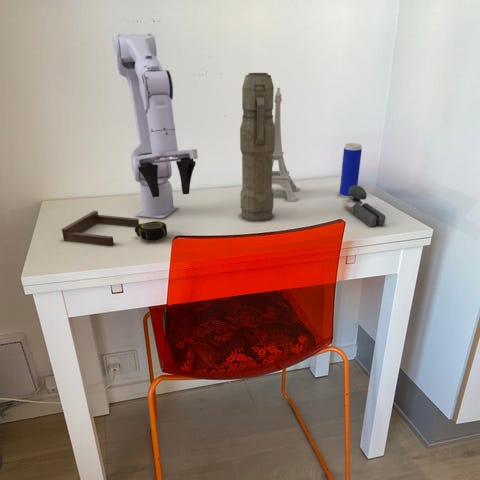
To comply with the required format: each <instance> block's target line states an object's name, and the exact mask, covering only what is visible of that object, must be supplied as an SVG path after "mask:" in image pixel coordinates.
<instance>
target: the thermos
mask: <svg viewBox="0 0 480 480" xmlns="http://www.w3.org/2000/svg"><path fill="white" fill-rule="evenodd" d="M273 82H274V81H273V79H272V75H271V74H269V73H268V72H248V74H246V75H245V76H244V80H243V84H242V87H241V97H242V98H241V100H242V103H241V104H242V105H241V106H242V119H241V125H240V127H239V140H240V141H239V145H240V146H239V147H240V148H239V150H240V152H241V155H242V156H241V159H242V160H241V172H242V173H241V175H242V178H241V183H242V184H241V185H242V188H241V190H240V197H239V198H240V210H241V213H240V217H241V218H242V220H244V221H247V222H253V223H254V222H255V223H260V222H261V223H262V222H267V221H270V220H272V219H273V209H274V198H275V197H274V191H273V185H272V171H273V167H272V158H273V152H274V149H275V126H274V122H275V121H274V115H273V110H274V97H275V95H274V93H275V92H274V91H275V87H274V83H273Z"/></svg>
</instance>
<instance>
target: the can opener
mask: <svg viewBox="0 0 480 480" xmlns="http://www.w3.org/2000/svg"><path fill="white" fill-rule="evenodd" d="M367 194H368V193H367V191H366V189H364V188H363V187H362V186H361V185H358V186H351V187H350V188H349V195H352V198H350V197H348V198H345V197H343V198H342V199H341V202H342V203H343V204H344V205H346V206H347V207H348V208H350V210H351V209H352V214H353V215H354V216H356V217H357V218H358V219H360V220H361V221H362V222H363V223H365V224H366V225H367V226H369V227H371V228H372V227H375V226H379V227H381V226H384V225H385V224H386V215H385V214H384V213H383V212H381V211H379V210H378V209H376V208H375V207H374V206H372V205H370V204H369V203H367V202H363V201H364V200H367ZM361 200H363V201H361Z"/></svg>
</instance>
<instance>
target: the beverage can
mask: <svg viewBox="0 0 480 480" xmlns="http://www.w3.org/2000/svg"><path fill="white" fill-rule="evenodd" d="M362 150H363V146H362V144H361V143H353V142H351V143H350V142H349V143H345V144H344V147H343V153H342V154H343V155H342V164H341V173H340V183H339V195H340V197H341V198H348V197H350V198H353V197H352V195H349V188H350V187H351V186H359V178H360V177H359V176H360V167H361V160H362Z"/></svg>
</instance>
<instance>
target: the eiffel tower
mask: <svg viewBox="0 0 480 480" xmlns="http://www.w3.org/2000/svg"><path fill="white" fill-rule="evenodd" d="M282 100H283V99H282V93H281V88H280V87H277V88H276V93H275V95H274V99H273V102H274V103H275V108H274V111H275V112H274V121H273V122H274V126H275V149H274V152H273V158H272V168H274V163H275V161H277V164H278V170H272V186H273V185H277V186H279V187H281V188H282V189H283V190H284V192H285V193H286V197H287V198H286V201H287V202H297V197H296V195H295V193H294V192H298V187H297V185H296V184H295V182H294V180H293V178H292V177H291V175H290V170H288V169H287V166H286V164H285V163H286V162H285V160H284V155H285V154H284V153H285V152H284V151H283V148H282V145H283V144H282V128H281V125H282V124H281V104H282Z"/></svg>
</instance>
